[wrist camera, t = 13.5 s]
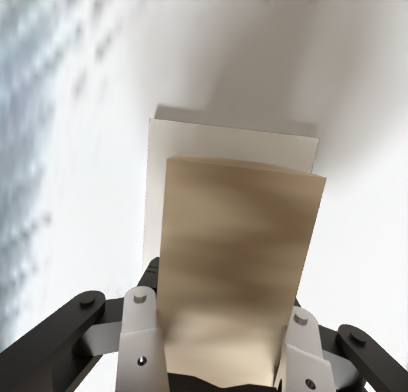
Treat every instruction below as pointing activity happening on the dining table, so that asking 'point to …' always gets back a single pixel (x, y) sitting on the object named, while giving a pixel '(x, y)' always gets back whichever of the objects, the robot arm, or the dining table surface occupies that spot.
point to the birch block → (231, 264)
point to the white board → (213, 147)
